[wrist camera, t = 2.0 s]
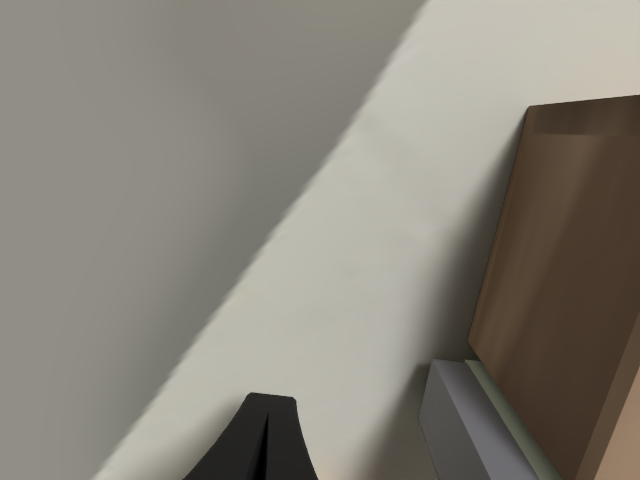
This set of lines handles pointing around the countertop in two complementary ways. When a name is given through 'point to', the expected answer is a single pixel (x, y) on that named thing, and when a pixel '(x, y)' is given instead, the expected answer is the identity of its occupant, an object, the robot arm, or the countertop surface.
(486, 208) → the countertop surface
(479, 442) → the door
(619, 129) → the cabinet
